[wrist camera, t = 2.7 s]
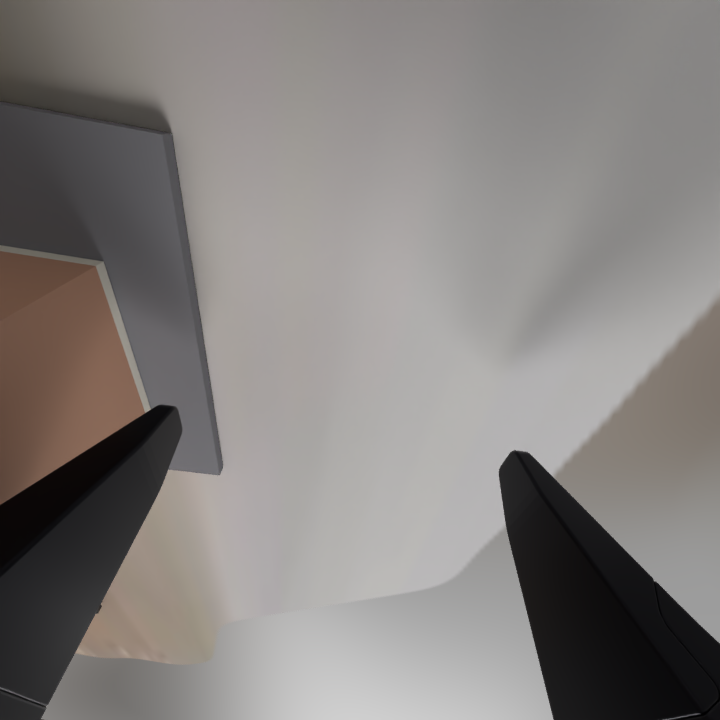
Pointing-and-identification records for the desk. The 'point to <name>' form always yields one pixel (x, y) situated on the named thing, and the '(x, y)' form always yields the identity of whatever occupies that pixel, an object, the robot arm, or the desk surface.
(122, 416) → the cube
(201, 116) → the desk surface
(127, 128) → the mat
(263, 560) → the desk surface
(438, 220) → the desk surface
